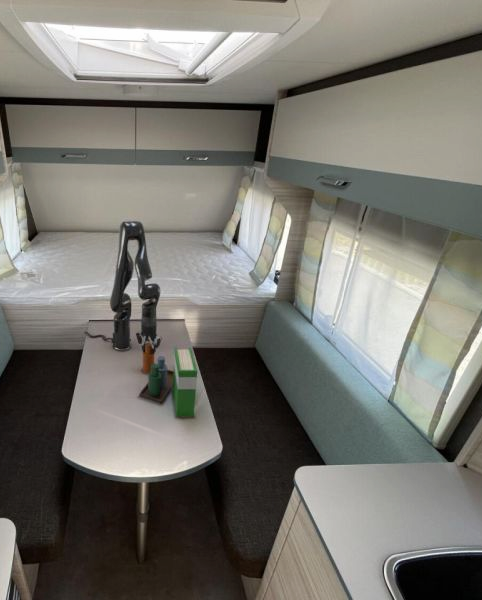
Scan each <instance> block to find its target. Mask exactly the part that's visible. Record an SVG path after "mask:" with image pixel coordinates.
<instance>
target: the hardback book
mask: <svg viewBox="0 0 482 600" xmlns="http://www.w3.org/2000/svg"><path fill="white" fill-rule="evenodd" d="M173 371H174V372H173V387H172V394H173V395H172V396H173V402H174V408H175V416H176V417H190V418H194V416H195V404H196V395H197V394H196V391H197V382H198V381H197V379H198V367H197V364H196V361H195V357H194V353H193V350H192V347H188V349H178V348H177V347H174V355H173Z"/></svg>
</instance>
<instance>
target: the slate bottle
mask: <svg viewBox="0 0 482 600" xmlns="http://www.w3.org/2000/svg"><path fill="white" fill-rule="evenodd" d="M157 364H158V365H159V372H160V373H161V390H162V389H165V388H166V387H167V370H168V365H167V364H166V357H165V356H163V355H159V356H158V357H157Z"/></svg>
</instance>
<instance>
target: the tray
mask: <svg viewBox="0 0 482 600" xmlns="http://www.w3.org/2000/svg"><path fill="white" fill-rule="evenodd" d="M173 372H174V370H171V369H167V387H166V388H165V389H162V390H161V396H160V397H159V398H154V397H151V396H149V395H148V382H147V383H146V385H144V387H143V388H142V389H141V391H140V393H139V394H138V395H139V396H138V397H140V398H143V399H146V400H149V401H152V402H154V403H157V404H160V405H162V404H163V402H164V401H165V400H166V398H167V396H168V395H169V393H171V390H173Z"/></svg>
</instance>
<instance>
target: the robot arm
mask: <svg viewBox="0 0 482 600" xmlns="http://www.w3.org/2000/svg"><path fill="white" fill-rule="evenodd" d="M129 241H136V243H137V252H136V255H135V259H134V260H133V257H132V255H131V254H130V251H129ZM134 270H135V273H136V276H137V295H138V297H139V299H141V300H142V301H145V302H143V303H142V304H141V318H140V324H141V325H140V327H141V328H140V329H141V330H139V331H137V332H136V333H135V336H136V340H137V344H139V345H141V351H142V353H143V352H145V344H146V343H147V342H148V343H150V344H151V346H152V354H154V353H155V354H156V350H157V349H158V348H159V347H160V345H161V342H162V340H163V336H158V334H157V327H158V325H157V321H158V318H157V317H158V316H157V306H158V303H159V301H160V297H161V287H160V285H159V284H158V283H156V282H153V283H148V284H146V282H147V281H149V280H151V279H152V278H153V273H152V268H151V265H150V261H149V257H148V249H147V241H146V233H145V228H144V225H143V223H142V222H141V221H140V220H124V221H122V222H121V223H120V225H119V230H118V249H117V258H116V265H115V272H114V281H113V286H112V292H111V294H110V300H109V306H110V309H111V311H112V312H113V313H115V314H114V315H113V332H112V337H105V335H104V334H96V335H92V334H90V333H89V332H88V331H85V332H84V334H87V336H89V337H90V338H98V337H102V338H103V340H104V341H109V340H110V341H111V342H110V343H112V347H113V348H114V349H115V350H116V351H120V352H125V351H128V350H130V348H131V342H132V339H131V317H132V298H131V296H130V295H129V293H126V292H125V291H126V289H127V287H128V285H129V284H130V282H131V281H132V278H133V275H134Z"/></svg>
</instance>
